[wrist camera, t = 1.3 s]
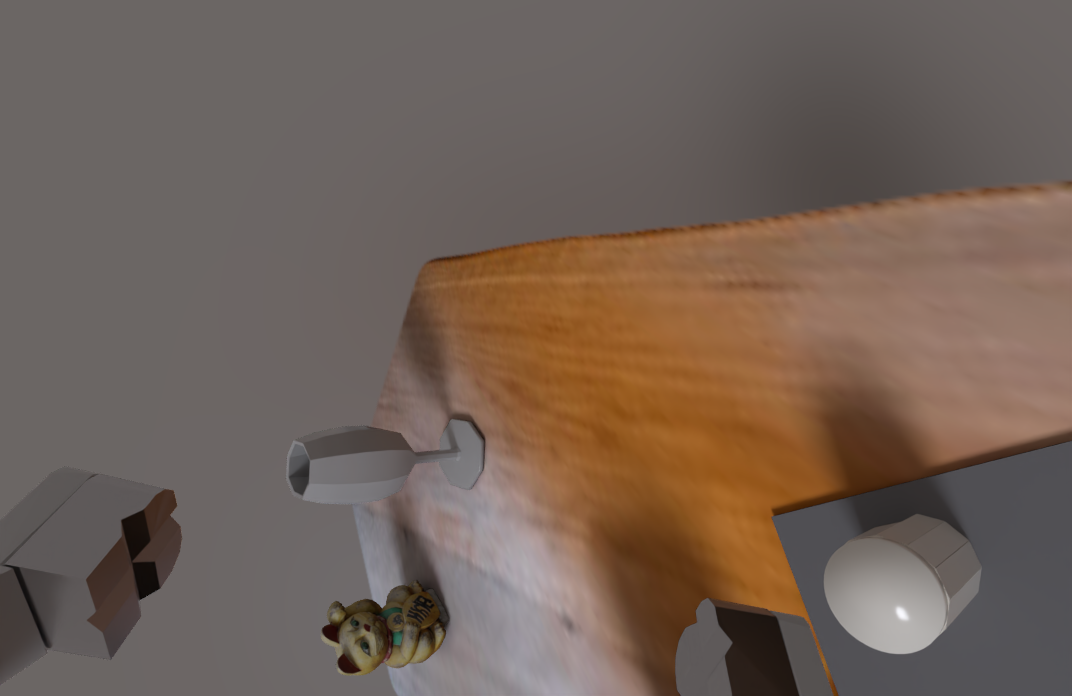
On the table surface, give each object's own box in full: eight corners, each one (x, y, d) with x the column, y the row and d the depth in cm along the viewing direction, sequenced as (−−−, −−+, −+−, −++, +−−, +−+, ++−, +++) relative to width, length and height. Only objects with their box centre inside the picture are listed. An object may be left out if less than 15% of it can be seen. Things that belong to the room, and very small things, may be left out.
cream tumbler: (952, 505, 39) (912, 528, 32) (999, 604, 37) (966, 649, 31) (859, 526, 43) (807, 550, 36) (897, 616, 41) (849, 658, 34)
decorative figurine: (462, 626, 74) (348, 666, 64) (440, 672, 77) (327, 717, 67) (425, 568, 81) (315, 595, 70) (406, 612, 83) (298, 645, 73)
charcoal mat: (1136, 424, 33) (1136, 424, 33) (1393, 854, 27) (1396, 860, 27) (774, 515, 47) (771, 516, 47) (886, 812, 41) (884, 816, 41)
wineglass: (494, 436, 72) (323, 449, 57) (476, 502, 74) (306, 531, 59) (453, 406, 78) (289, 411, 63) (437, 468, 80) (275, 486, 65)
